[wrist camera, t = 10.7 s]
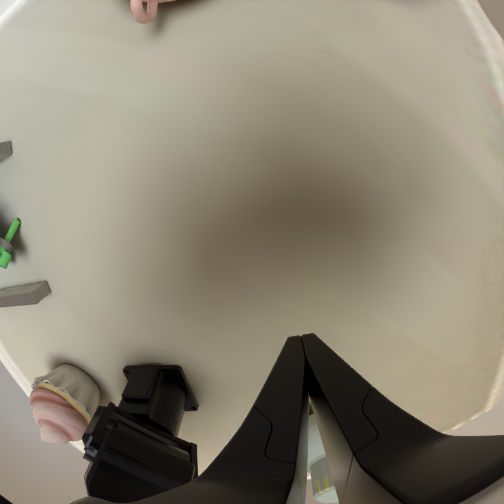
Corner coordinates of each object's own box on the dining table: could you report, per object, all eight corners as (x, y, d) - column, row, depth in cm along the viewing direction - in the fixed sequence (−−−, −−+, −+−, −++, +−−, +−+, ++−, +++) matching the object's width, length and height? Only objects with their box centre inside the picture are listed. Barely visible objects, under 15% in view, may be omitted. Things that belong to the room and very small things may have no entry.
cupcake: (38, 346, 26) (-4, 398, 16) (97, 360, 25) (55, 428, 16) (65, 397, 29) (35, 448, 20) (120, 413, 29) (95, 474, 19)
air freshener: (274, 416, 27) (276, 495, 18) (343, 384, 25) (365, 466, 16) (320, 449, 30) (328, 512, 21) (377, 424, 28) (396, 487, 19)
